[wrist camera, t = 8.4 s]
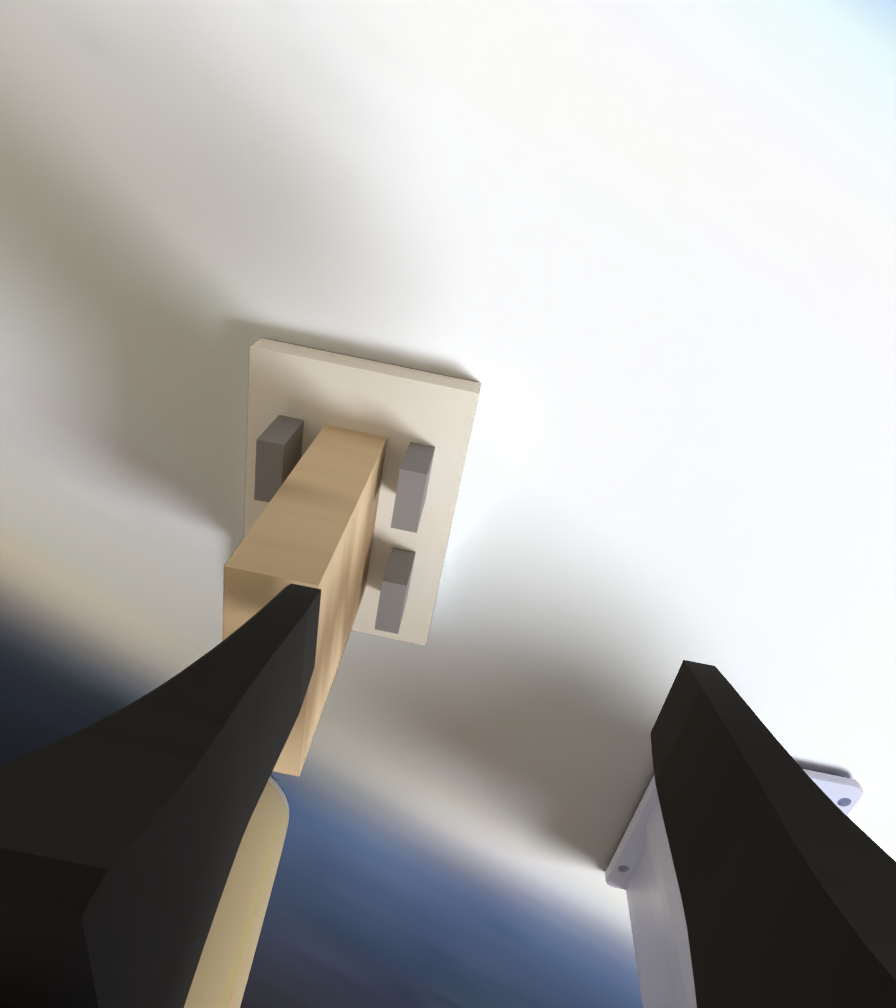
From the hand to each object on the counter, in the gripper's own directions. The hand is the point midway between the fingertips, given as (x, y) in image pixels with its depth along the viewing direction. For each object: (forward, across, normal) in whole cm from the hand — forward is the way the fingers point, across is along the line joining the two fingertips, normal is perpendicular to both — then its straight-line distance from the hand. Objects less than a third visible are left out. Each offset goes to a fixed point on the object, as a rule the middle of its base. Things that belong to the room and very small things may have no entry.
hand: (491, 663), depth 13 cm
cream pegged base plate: (+10, +5, +3) cm, 11 cm away
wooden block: (+9, +5, +3) cm, 10 cm away
